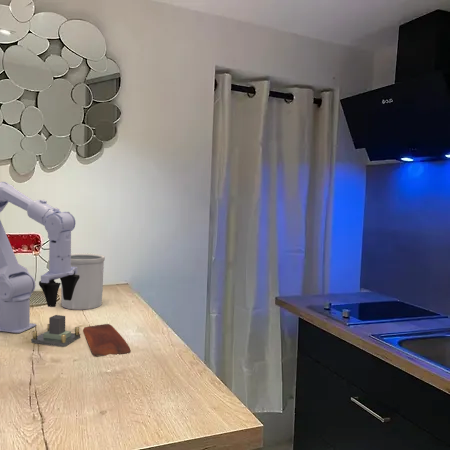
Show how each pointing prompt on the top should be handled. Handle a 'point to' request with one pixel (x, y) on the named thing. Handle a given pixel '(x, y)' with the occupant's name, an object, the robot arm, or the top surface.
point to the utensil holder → (86, 282)
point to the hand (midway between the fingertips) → (59, 303)
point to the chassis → (55, 342)
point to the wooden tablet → (105, 340)
